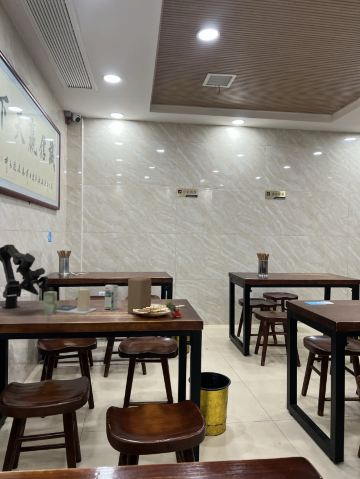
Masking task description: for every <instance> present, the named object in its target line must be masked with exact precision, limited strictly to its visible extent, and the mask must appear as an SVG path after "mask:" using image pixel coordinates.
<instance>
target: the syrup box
mask: <svg viewBox="0 0 360 479" xmlns="http://www.w3.org/2000/svg"><path fill="white" fill-rule="evenodd" d="M118 293H119V285H117V284H106V285H105V286H104V310H105V309H110V310H109V311H114V310H113V309H115V310H117V309H118V297H119V296H118V295H119V294H118ZM116 308H117V309H116Z"/></svg>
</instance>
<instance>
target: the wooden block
mask: <svg viewBox="0 0 360 479" xmlns="http://www.w3.org/2000/svg"><path fill="white" fill-rule="evenodd" d="M127 280H128V281H127V313H128V314H130V313H134V312H133V309H143V308H146V307H150V306H151V307H152V278H150V277H139V276H138V277H137V276H136V277H130V278H128V279H127Z"/></svg>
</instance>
